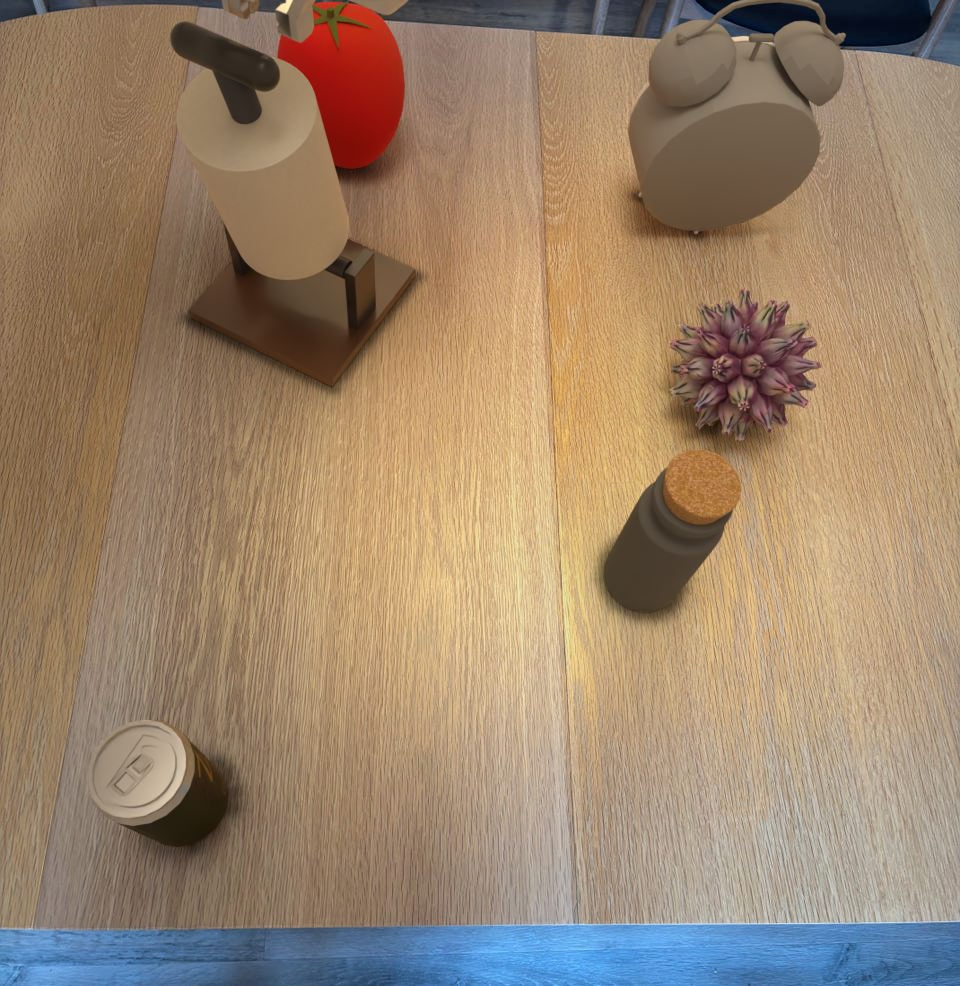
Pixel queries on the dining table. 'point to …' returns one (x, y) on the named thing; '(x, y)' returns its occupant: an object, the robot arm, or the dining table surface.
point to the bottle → (672, 530)
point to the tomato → (351, 79)
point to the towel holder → (262, 156)
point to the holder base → (305, 309)
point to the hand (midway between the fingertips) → (269, 22)
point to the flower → (743, 365)
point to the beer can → (157, 783)
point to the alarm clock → (731, 118)
